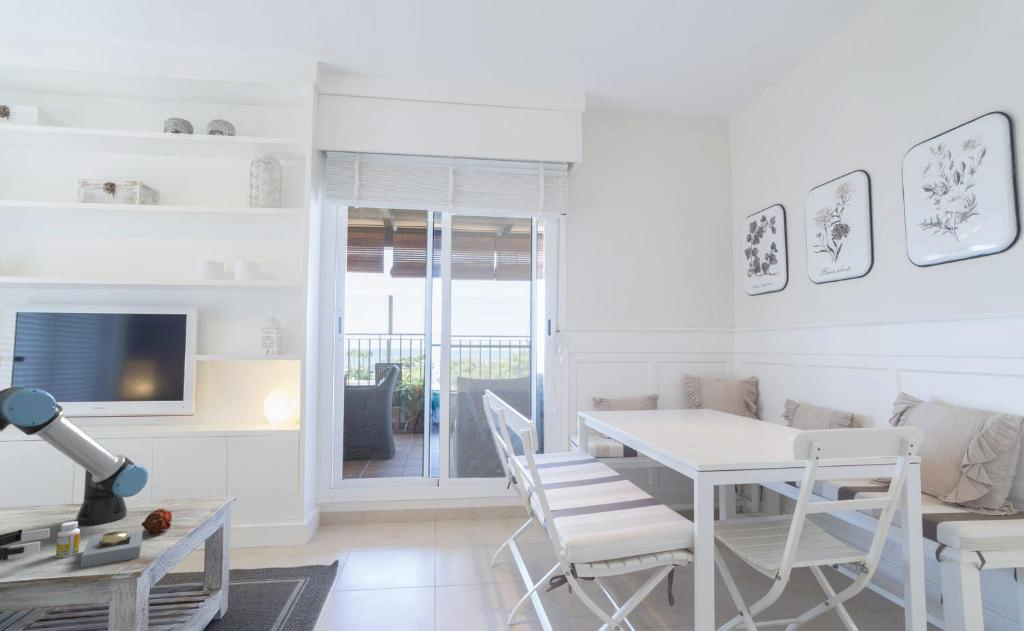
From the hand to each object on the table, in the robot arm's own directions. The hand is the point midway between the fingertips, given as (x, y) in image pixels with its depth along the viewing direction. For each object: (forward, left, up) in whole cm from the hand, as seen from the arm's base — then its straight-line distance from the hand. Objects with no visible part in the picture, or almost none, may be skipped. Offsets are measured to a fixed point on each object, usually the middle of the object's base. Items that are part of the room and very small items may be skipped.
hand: (44, 539), depth 155 cm
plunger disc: (+7, +18, -2) cm, 19 cm away
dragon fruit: (-10, +29, -6) cm, 31 cm away
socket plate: (+7, +18, -6) cm, 20 cm away
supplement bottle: (0, +6, -6) cm, 8 cm away
